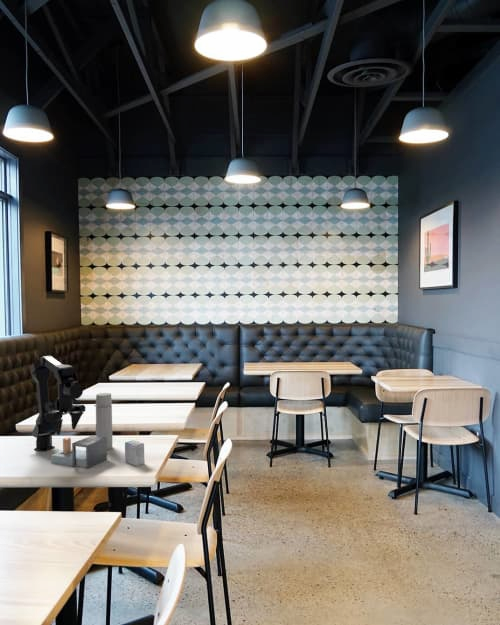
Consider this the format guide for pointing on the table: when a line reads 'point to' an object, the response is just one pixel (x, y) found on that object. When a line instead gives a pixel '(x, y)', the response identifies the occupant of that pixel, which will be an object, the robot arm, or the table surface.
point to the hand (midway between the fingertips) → (66, 432)
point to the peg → (67, 446)
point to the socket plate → (70, 458)
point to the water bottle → (104, 417)
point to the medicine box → (134, 453)
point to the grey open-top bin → (91, 450)
